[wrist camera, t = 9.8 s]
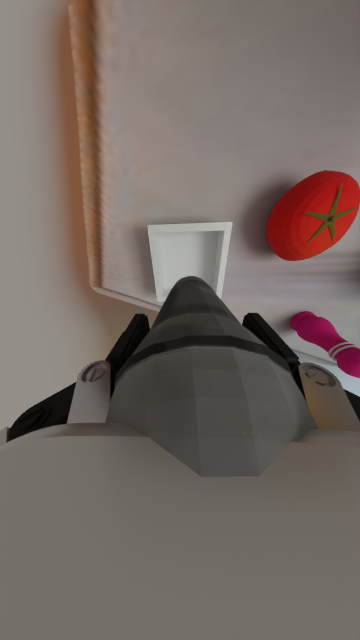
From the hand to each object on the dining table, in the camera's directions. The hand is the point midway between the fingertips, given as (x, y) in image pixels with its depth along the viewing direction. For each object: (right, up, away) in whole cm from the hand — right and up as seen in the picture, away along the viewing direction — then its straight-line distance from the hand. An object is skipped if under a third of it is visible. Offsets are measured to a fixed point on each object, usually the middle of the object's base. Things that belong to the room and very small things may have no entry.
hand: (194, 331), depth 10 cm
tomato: (+21, +21, +18) cm, 35 cm away
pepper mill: (+36, +1, +30) cm, 47 cm away
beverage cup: (0, +4, +6) cm, 7 cm away
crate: (+1, +15, +22) cm, 27 cm away
